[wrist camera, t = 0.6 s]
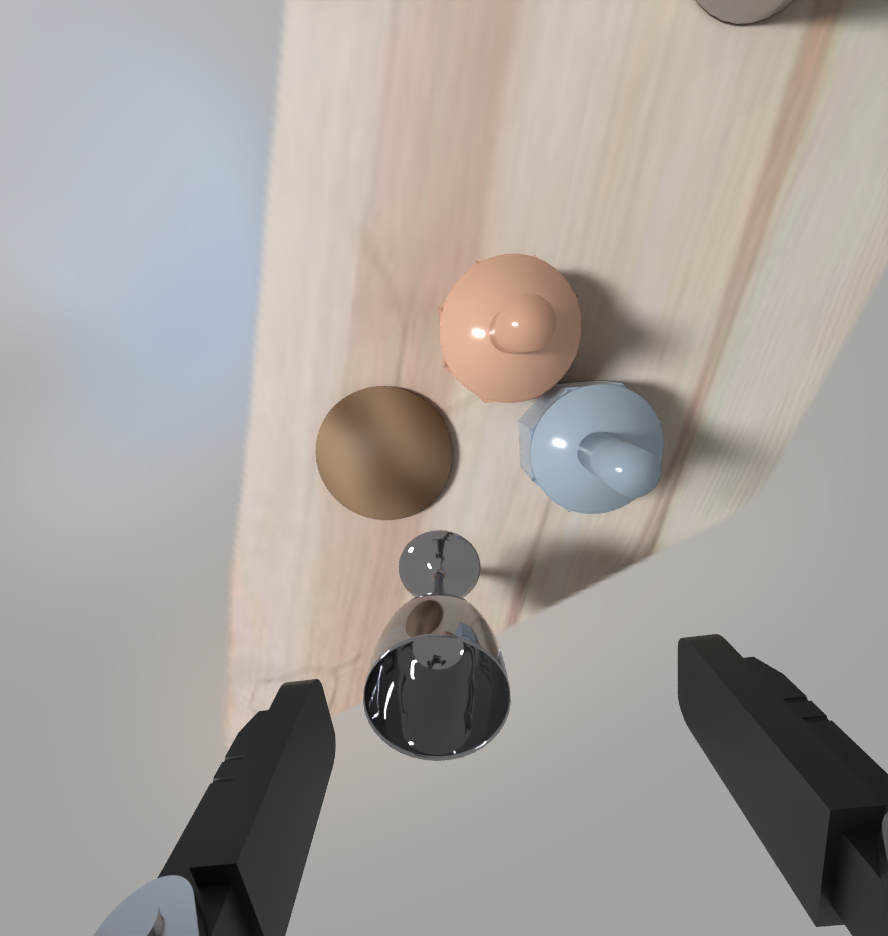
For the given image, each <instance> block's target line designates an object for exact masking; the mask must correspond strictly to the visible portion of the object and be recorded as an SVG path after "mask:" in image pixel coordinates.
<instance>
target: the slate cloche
mask: <svg viewBox="0 0 888 936" xmlns="http://www.w3.org/2000/svg"><path fill="white" fill-rule="evenodd" d="M519 434H520V458H521V467H522V468H523V469H524V471H525V472H526V473H527V475H528V476H529V477H530V479H531V480H532V481H533V482H535V483H536V484H537V485H538V486H539V487H540V488H542V490H543V491H544V492H545V493H546V495H547V496H548V497H549V498H550V499H552V500H553V501H554V502H556V503H557V504H558V505H560V506H562V507H564V508H565V509H566V510H567V511H568V512H570V511H574V512H579V513H585V514H599V513H606V512H609V511H613V510H616V509H618V508H621V507H623V506H625V505H627V504H629V503H630V502H632V501H633V500H634V499H636V498H637V497H641V496H644V495H646V494H648V493H649V492H651V491H652V490H653V489H654V488H655V486H656V485H657V483H658V482H659V479H660V476H661V466H660V464H661V461H662V457H663V450H664V436H663V430H662V426H661V423H660V420H659V418H658V416H657V414H656V413H655V411H654V410H653V408H652V407H651V406H650V405H649V403H648V402H647V401H646V400H645V399H643V398H642V397H641V396H640V395H638V394H636V393H635V392H633V391H631V390H629V389H628V388H627V387H625V386H624V385H623V383H618V382H610V381H601V380H597V381H586V382H574V383H562V384H555V385H554V386H553V387H551V388H550V389H549V390H547V391H546V392H544V393H543V394H542V396H541V397H540V398H539V399H538V400H537V401H536V402H535V403H534V404H533V405H532V406H531V408H530V409H529V410H528V411H527V412H526V413H525V414H524V415H523V417H522V418H521V419H520V420H519Z"/></svg>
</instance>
